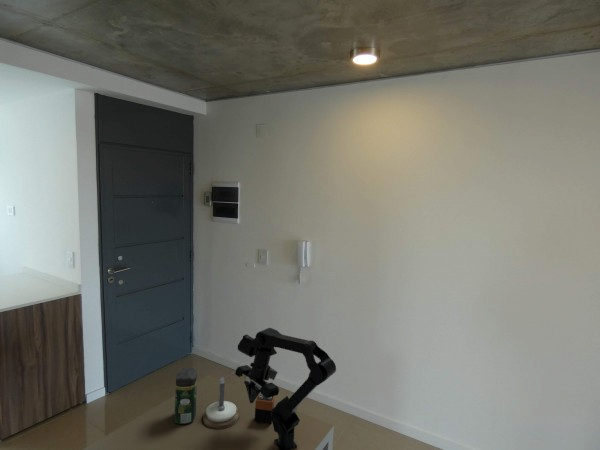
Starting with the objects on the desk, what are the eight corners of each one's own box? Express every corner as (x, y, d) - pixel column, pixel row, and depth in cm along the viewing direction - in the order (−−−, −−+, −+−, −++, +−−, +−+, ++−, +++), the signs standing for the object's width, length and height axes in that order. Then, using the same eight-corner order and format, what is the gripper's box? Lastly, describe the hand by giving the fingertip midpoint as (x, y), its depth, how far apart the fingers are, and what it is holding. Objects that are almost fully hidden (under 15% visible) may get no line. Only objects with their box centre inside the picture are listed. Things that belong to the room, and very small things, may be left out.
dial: (242, 411, 142) (243, 383, 141) (222, 425, 132) (223, 396, 131) (220, 401, 147) (221, 374, 147) (199, 414, 137) (201, 386, 137)
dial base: (243, 423, 137) (243, 419, 136) (207, 432, 130) (207, 427, 130) (233, 404, 149) (233, 400, 149) (199, 411, 143) (199, 407, 142)
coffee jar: (176, 410, 142) (178, 366, 141) (196, 409, 143) (198, 365, 142) (172, 425, 133) (173, 378, 131) (193, 424, 134) (195, 377, 133)
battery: (271, 424, 137) (272, 399, 136) (254, 422, 138) (255, 397, 137) (273, 418, 141) (274, 394, 141) (256, 416, 142) (258, 392, 141)
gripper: (293, 370, 131) (283, 410, 131) (260, 348, 143) (251, 386, 143) (272, 375, 122) (262, 418, 123) (239, 352, 135) (229, 392, 135)
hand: (251, 402), depth 131 cm, fingers closed
